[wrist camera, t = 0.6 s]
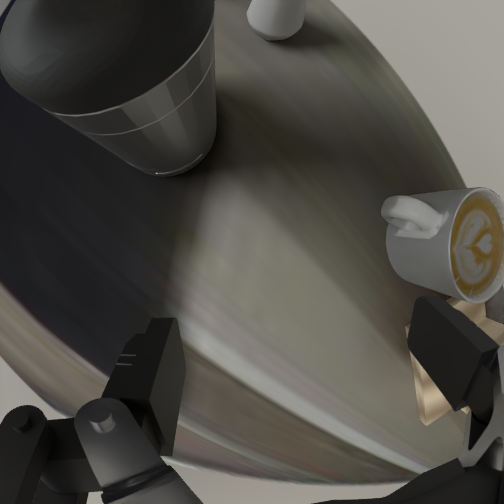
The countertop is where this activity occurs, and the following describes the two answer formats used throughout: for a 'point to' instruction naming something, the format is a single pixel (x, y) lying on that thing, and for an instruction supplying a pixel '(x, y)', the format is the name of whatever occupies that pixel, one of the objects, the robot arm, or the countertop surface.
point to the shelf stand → (426, 390)
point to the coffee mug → (448, 241)
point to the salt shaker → (276, 18)
